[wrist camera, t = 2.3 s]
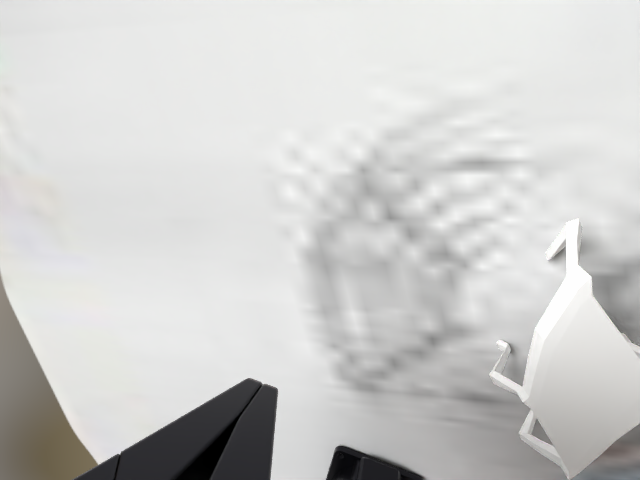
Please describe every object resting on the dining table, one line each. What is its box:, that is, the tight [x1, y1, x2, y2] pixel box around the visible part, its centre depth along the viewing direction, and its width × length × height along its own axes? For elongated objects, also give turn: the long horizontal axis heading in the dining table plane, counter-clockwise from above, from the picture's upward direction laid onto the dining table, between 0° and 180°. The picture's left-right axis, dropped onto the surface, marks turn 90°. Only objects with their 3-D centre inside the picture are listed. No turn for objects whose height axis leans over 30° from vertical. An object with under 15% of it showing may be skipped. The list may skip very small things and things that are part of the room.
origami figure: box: [489, 218, 640, 480], centre depth 17 cm, size 12×8×5 cm
